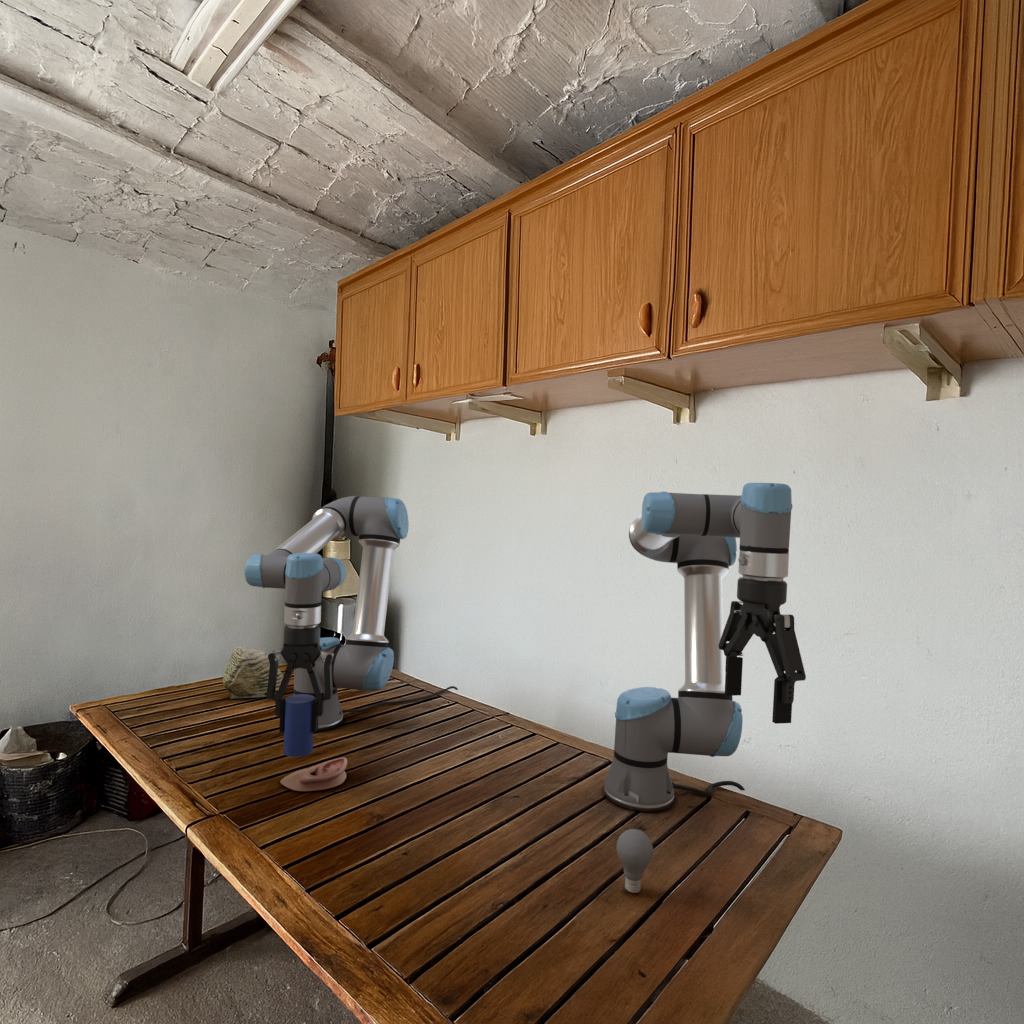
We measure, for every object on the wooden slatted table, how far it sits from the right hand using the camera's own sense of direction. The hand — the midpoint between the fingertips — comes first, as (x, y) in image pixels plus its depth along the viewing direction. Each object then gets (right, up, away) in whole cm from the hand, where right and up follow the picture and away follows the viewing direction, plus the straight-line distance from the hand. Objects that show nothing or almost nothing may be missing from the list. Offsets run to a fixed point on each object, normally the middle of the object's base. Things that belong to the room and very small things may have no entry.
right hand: (755, 708), depth 103 cm
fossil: (-120, -25, +95) cm, 155 cm away
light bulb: (-20, -31, +3) cm, 37 cm away
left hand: (-86, -16, +35) cm, 94 cm away
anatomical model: (-84, -28, +38) cm, 96 cm away
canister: (-86, -20, +35) cm, 95 cm away
